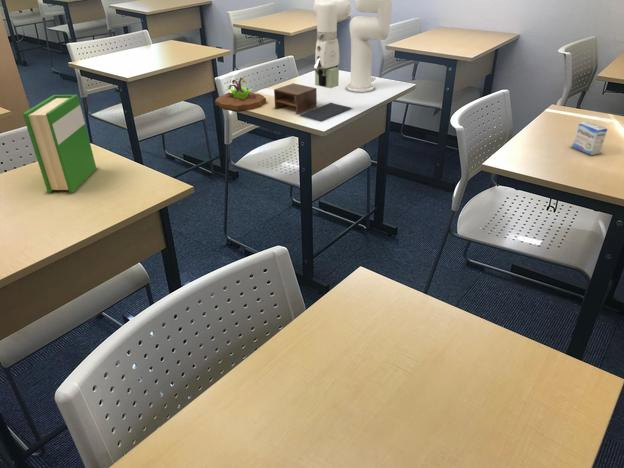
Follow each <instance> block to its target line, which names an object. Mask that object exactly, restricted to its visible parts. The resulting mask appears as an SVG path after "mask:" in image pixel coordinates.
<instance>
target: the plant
mask: <svg viewBox="0 0 624 468" xmlns="http://www.w3.org/2000/svg"><path fill="white" fill-rule="evenodd" d="M231 83H232V84H229V85H228V86H227V89H228V90H229V91H230V92H226V93H224V94H223V95H220V96H218V97H216V99H215V100H214V104H215V106H216V107H219V108H220V109H223V110H230V111H235V112H240V111H248V110H252V109H256V108H259V107H261V106H262V105H264V104H267V98H266V96H264V95H262V94H261V93H255V92H252V89H253V88H249V89H247V87H246V86H242V83H243V84H244V83H246V79H245V78H244V77H240V78H239V79H238V81H237V80H236V79H233V80H231ZM232 87H234V89H233V88H232Z"/></svg>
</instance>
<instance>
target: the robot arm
mask: <svg viewBox="0 0 624 468" xmlns="http://www.w3.org/2000/svg"><path fill="white" fill-rule="evenodd" d="M392 7H393V0H354V8H355V10H356V11H358V12H360V13H368V14H377V15H378V16H372V15H357V16H354V17H352V18H351V19H350V21H349V29H348V30H349V34H350V36H349V37H350V44H351V45H350V83H348V84H347V86H346V90H348V91H349V92H355V93H367V92H371V91H373V90H374V89H375V85H374V84H373V82H375V81H376V80H377V78H376V77H375V76H372V67H373V66H372V64H373V48H372V44H371V43H370V41H385V40H386V39H387V38H388V37H389V34H390V26H391V18H392V17H391V15H392ZM312 8H313V9H312V10H313V14H314V16H315V17H316V43H315V54H314V55H315V56H314V60H315V62H314V63H315V64H314V67H313V70H314V72H315V71H316V72H317V73H318V75H319V85H320V86H319V87H322V86H326V76H325V71H326V69H327V68H331V67H337V68H338V66H339V65H340V45H339V40H338V38H337V37H338V20H345V19H346V18H348V17H349V15H350V13H351V9H352V7H351V2H350V1H349V0H314V1H313V7H312ZM321 69H323V71H321Z"/></svg>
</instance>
